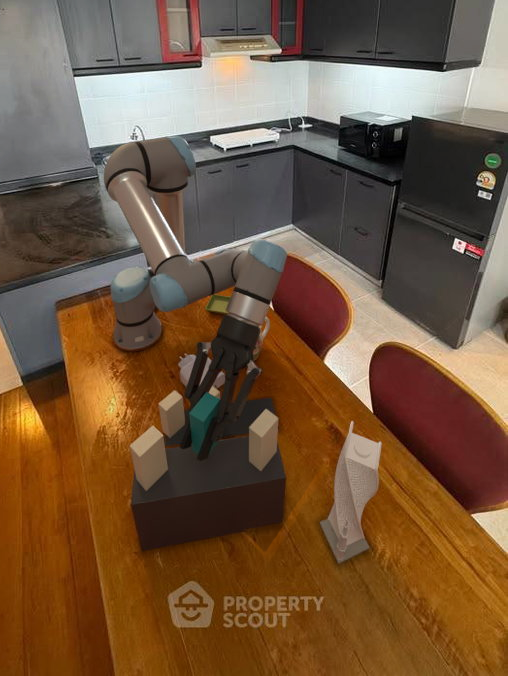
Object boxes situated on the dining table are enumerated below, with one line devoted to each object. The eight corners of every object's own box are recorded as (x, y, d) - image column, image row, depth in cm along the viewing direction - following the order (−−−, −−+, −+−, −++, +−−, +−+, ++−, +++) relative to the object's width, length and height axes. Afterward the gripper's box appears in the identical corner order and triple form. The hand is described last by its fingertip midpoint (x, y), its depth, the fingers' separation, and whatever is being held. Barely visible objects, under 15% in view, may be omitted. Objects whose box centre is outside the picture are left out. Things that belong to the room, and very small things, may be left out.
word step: (145, 499, 81) (128, 419, 70) (272, 477, 85) (276, 398, 74) (141, 551, 73) (122, 470, 62) (282, 524, 77) (288, 443, 66)
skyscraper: (316, 515, 79) (329, 427, 66) (349, 500, 81) (367, 413, 69) (338, 564, 72) (357, 475, 59) (374, 546, 74) (399, 457, 62)
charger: (195, 353, 118) (225, 384, 107) (169, 369, 112) (198, 403, 102) (194, 342, 116) (224, 372, 105) (168, 357, 110) (197, 391, 100)
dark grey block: (163, 414, 99) (159, 385, 94) (271, 399, 103) (272, 371, 99) (162, 448, 91) (157, 419, 86) (279, 430, 95) (280, 401, 91)
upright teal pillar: (192, 450, 68) (188, 413, 64) (209, 428, 72) (206, 391, 68) (206, 459, 67) (203, 422, 63) (222, 435, 71) (220, 399, 66)
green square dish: (235, 301, 140) (235, 297, 139) (228, 317, 132) (228, 313, 131) (212, 298, 142) (212, 293, 141) (205, 313, 134) (204, 309, 133)
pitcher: (280, 351, 119) (282, 316, 113) (234, 381, 108) (234, 345, 102) (257, 331, 126) (258, 298, 120) (212, 358, 116) (211, 323, 110)
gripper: (287, 338, 70) (241, 473, 65) (216, 308, 78) (169, 427, 72) (275, 334, 64) (223, 484, 58) (199, 302, 71) (146, 432, 66)
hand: (193, 452), depth 65 cm, fingers closed on upright teal pillar, 3 cm apart
